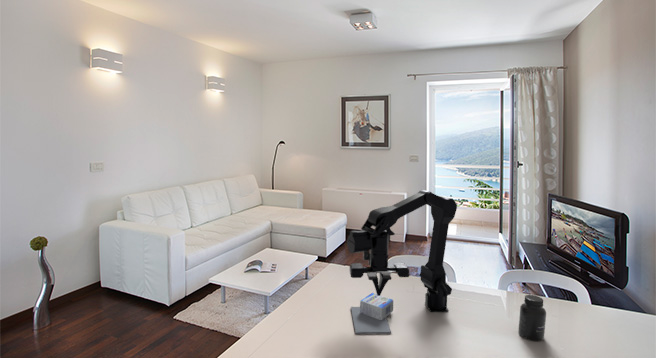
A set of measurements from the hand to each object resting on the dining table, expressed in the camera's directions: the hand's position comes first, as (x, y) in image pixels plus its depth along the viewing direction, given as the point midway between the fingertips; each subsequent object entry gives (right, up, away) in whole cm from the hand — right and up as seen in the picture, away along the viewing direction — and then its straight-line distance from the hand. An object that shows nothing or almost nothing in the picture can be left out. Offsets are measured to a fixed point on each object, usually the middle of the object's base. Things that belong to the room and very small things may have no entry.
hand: (378, 295), depth 113 cm
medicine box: (+4, -6, +2) cm, 7 cm away
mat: (-3, -9, +1) cm, 9 cm away
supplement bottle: (+45, -10, -8) cm, 47 cm away
